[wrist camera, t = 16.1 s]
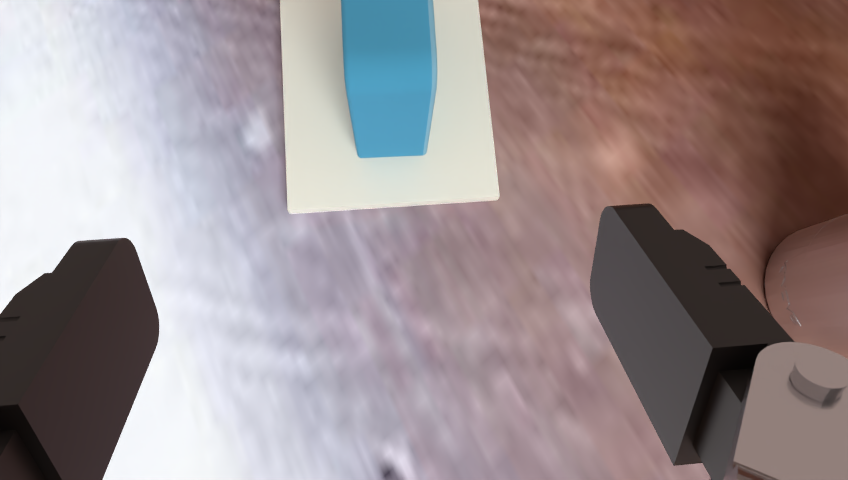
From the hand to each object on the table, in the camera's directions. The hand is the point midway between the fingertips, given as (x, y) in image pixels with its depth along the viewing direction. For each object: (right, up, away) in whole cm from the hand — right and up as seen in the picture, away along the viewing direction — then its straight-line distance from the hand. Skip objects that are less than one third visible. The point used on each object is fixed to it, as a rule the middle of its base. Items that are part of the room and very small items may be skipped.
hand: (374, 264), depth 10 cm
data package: (-2, +11, +31) cm, 33 cm away
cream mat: (-2, +11, +32) cm, 34 cm away
